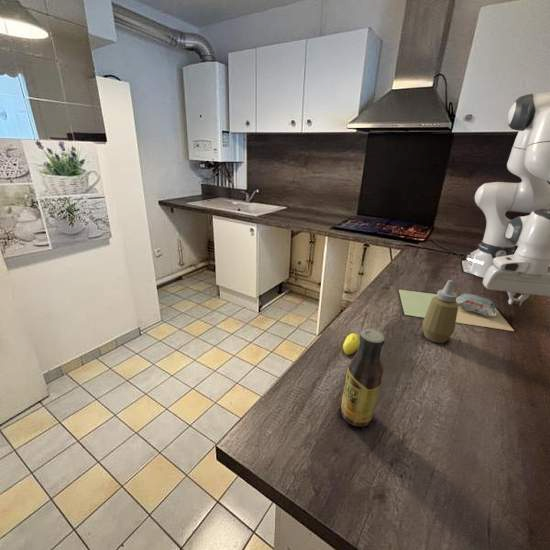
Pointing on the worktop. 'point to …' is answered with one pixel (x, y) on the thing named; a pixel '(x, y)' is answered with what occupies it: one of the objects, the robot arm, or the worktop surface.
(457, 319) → the mat
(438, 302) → the squeeze bottle
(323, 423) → the worktop surface
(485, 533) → the worktop surface
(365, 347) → the sauce bottle
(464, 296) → the packaged food
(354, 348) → the lemon
